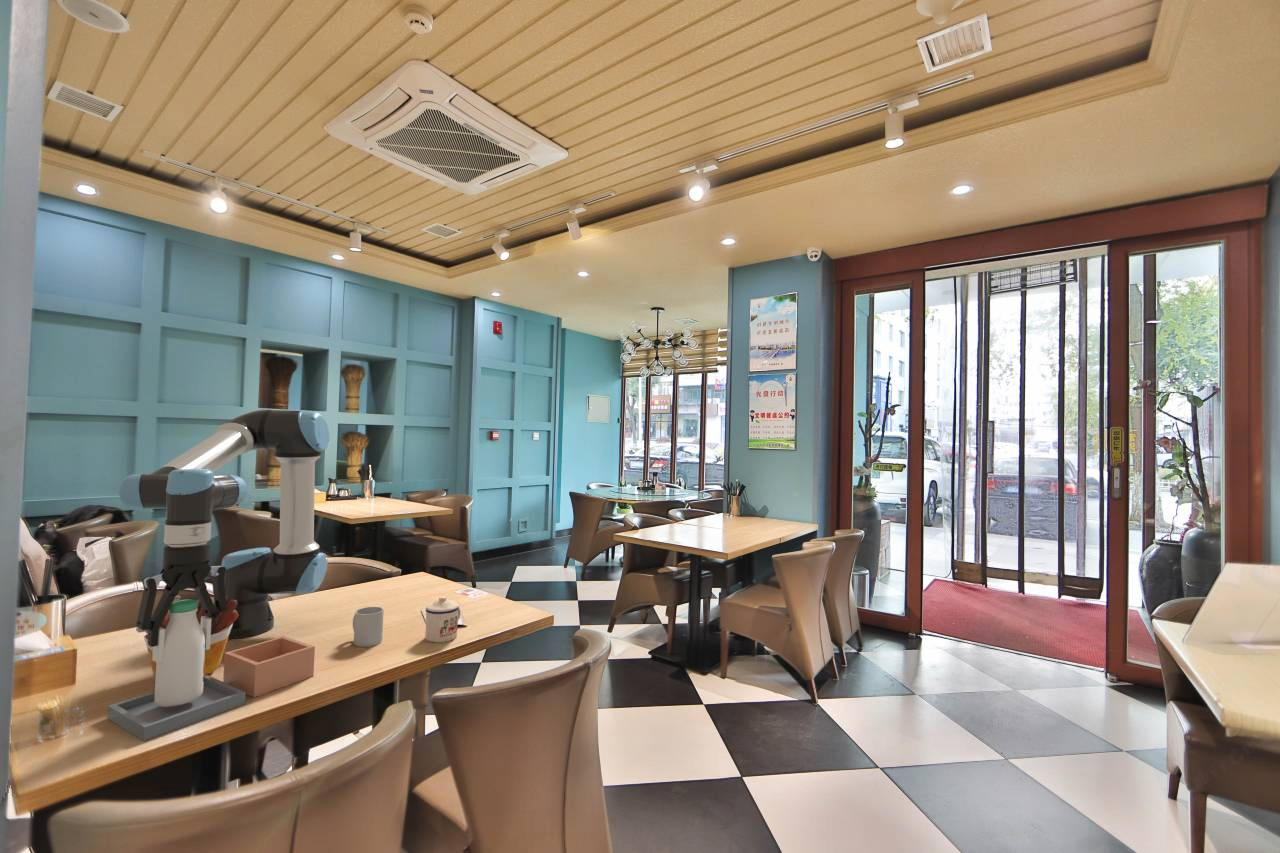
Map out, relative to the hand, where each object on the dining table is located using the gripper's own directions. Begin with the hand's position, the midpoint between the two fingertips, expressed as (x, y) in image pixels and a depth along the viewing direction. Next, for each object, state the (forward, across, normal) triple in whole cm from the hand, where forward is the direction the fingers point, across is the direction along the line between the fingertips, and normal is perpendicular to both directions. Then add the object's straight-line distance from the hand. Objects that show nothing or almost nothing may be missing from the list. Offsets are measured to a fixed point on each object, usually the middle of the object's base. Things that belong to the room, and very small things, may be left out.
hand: (181, 654), depth 113 cm
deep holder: (+12, +17, 0) cm, 21 cm away
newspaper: (+13, +70, +1) cm, 71 cm away
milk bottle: (+9, 0, 0) cm, 9 cm away
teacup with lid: (+12, +59, -12) cm, 62 cm away
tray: (+12, 0, 0) cm, 12 cm away
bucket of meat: (+12, +9, +18) cm, 24 cm away
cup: (+12, +44, +3) cm, 46 cm away
